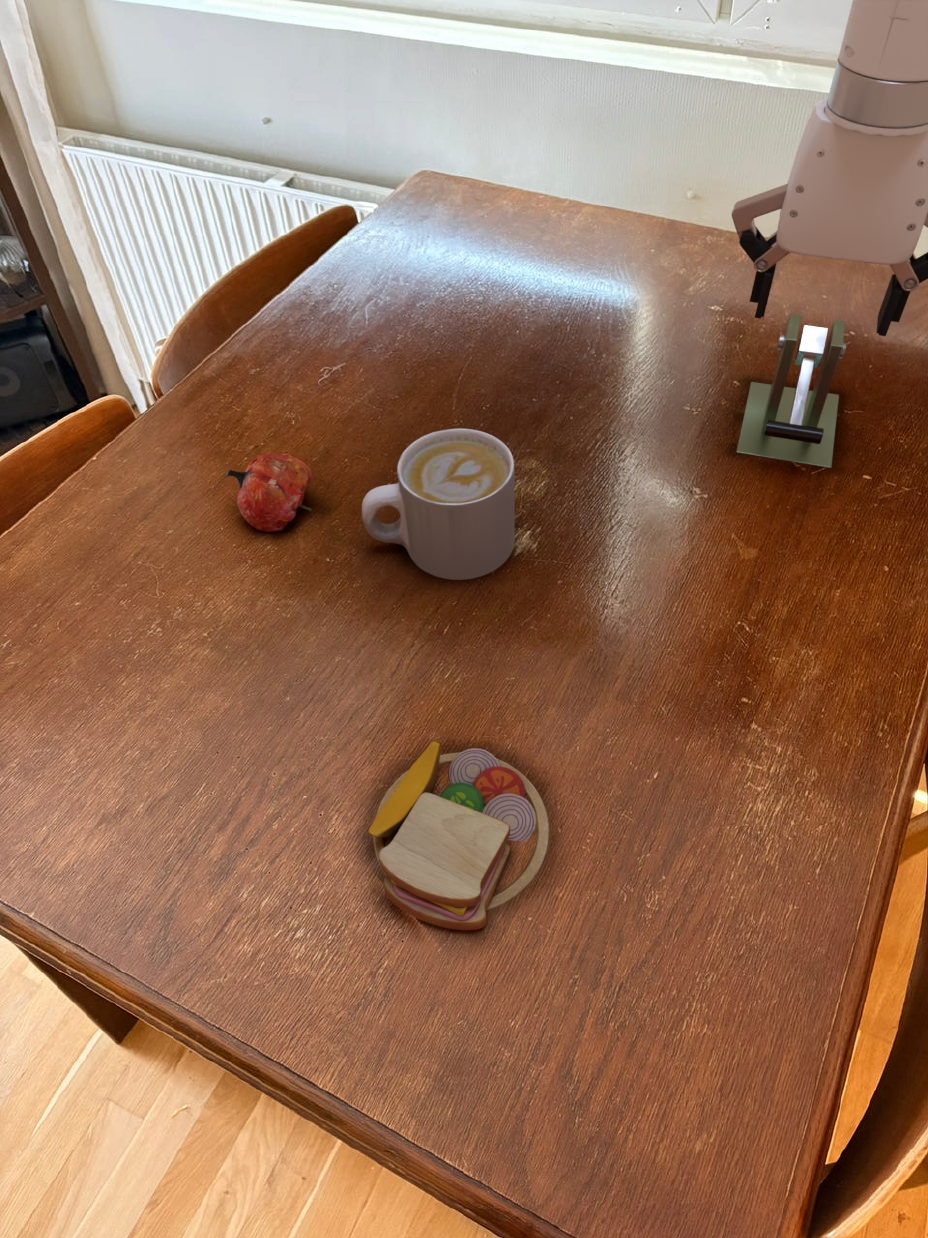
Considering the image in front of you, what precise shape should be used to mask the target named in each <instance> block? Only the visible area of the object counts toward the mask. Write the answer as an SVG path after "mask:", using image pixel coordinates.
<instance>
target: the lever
mask: <svg viewBox="0 0 928 1238" xmlns="http://www.w3.org/2000/svg"><path fill="white" fill-rule="evenodd" d="M828 334H829V327H822V326H815V325H807V324H804V325H803V327H802V330H801V333H800V337H799V338H798V339H799V340H798V345H797V349H796V354H795V359H794V363H793V365H794V366H799V372H798V376H797V381H796V386H795V388H796V390H795V395H794V400H793V405H792V409H791V414H790V419H789V423H786V422H779V421H773V420H767V423H766V427H765V431H764V435H765V436H771V437H777V438H783V439H789V440H796V441H802V442H808V443H814V444H820V443H821V440H822V437H823V432H824V429H823V428H817V427H811V426H805V425H802V421H803V416H804V411H805V407H806V402H807V397H808V392H809V390H810V387H811V381H812V377H813V372H814V368H816V369H818V368H820V365H821V362H822V359H823V356H824V353H825V349H826V344H827V339H828Z"/></svg>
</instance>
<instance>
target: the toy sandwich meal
mask: <svg viewBox="0 0 928 1238" xmlns="http://www.w3.org/2000/svg"><path fill="white" fill-rule="evenodd" d="M441 748H442V747H441V744H440V743H439V742H437V741H434V740H433V741H432V742H430V743H429V745H428V746H427V747H426V748H425V750H423V752H422V754H421V755H420V756H419V757H418V758H417V759H416V760H415V761H414V762H413V763H412V765H411V766H410V768H409V769H408V770H406V771H405V772H404V773H403V774H401V775H400V776H399V777H398V778H397V779H396V780H395V781H394V782H393V784H392V785H390V787H389V788H388V790H387V791H386V792H385V794H384V796H383V797H382V799H381V801H380V803H379V805H378V808H377V811H376V813H375V818H374V819H373V821H372V823H371V825H370V827H369V828H368V834H369V835H370V836H372V837H373V838H372V839H373V841H372V842H373V849H374V853H375V857H376V860H377V863H378V864H379V867H380V869H381V872H382V873H383V875H384V878H383V882H382V883H383V891H384V893H385V896H386V898H388V899H389V900H390V901H391V903H393V904H394V905H395V906H396V907H397V908H399V909H400V910H402V911H403V912H405V913H406V914H408V915H409V916H412V918H413V917H414V919H415V918H416V919H418V920H420V921H423V922H425V923H428V924H430V925H434V926H437V927H440V928H444V929H451V930H457V931H458V930H459V931H477V930H481V929H483V928H484V927H485V926H486V925H487V911H489V910H492V909H495V908H497V907H499V906H501V905H504V904H505V903H507V902H509V901H510V900H512V899H514V898H515V897H516V896H517V895H519V894H520V893H521V892H522V891H524V890H525V888H526V887H527V886H528V885H529V884H530V883H531V882H532V881H533V879H535V877H536V875H537V874H538V873H539V870H540V868H541V867H542V864H543V862H544V860H545V857H546V854H547V851H548V846H549V839H550V823H549V818H548V813H547V810H546V806H545V803H544V802H543V799H542V797H541V795H540V794H539V792H538V790H537V789H536V787H535V786H534V784H532V782H531V781H530V780H529V779H528V778H527V777H526V775H524V774H523V773H522V772H521V771H519V770H518V769H517V768H515V767H514V766H512V765H510V764H509V763H507V762H505V761H503V760H501V759H498V758H496V757H495V756H494V755H493V754H492V753H491V752H490V751H488V750H486V749H482V748H476V747H471V748H468V749H465V750H463V751H461V752H451V753H444V754H441V750H442V749H441ZM447 764H450V765H449V768H448V780H449V784H450V785H448V786H447V787H445V788H444V789H443V790H442V792H440V794H439V795H437V794H434V793H433V791H434V789H435V787H436V783H437V778H438V772H439V766H443V765H447ZM526 797H527V799H526ZM535 831H537V834H536V842H535V847H534V851H533V853H532V857H531V858H530V860H529V862H528V864H527V866H526V867H525V869H524V870H523V872H522V873H521V874H520V875H519V877H518V878H516V879H515V881H513V882H512V883H511V884H510V885H508V886H507V887H506V888H504V889H502V890H501V891H499V892H497V890H498V887H499V884H500V883H501V880H502V878H503V875H504V874H505V873H504V872H505V870H506V868H507V866H508V863H509V860H510V858H511V854H512V847H511V846H510V845H509V844H508V843H507V842H508V841H514V842H518V843H524V842H527V841H528V840H529V839H530V838H531V837H532V836H533V835H534V833H535ZM396 832H397V833H396ZM395 833H396V834H395ZM394 834H395V835H394ZM393 835H394V837H393V839H392V840H391V841H390V843H388V844H387V845H386V840H385V838H389V837H391V836H393ZM496 892H497V893H496ZM495 893H496V894H495Z"/></svg>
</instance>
